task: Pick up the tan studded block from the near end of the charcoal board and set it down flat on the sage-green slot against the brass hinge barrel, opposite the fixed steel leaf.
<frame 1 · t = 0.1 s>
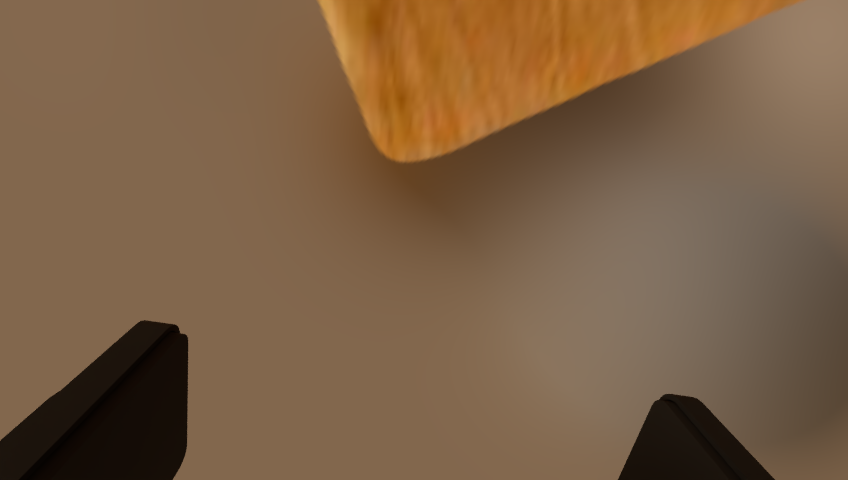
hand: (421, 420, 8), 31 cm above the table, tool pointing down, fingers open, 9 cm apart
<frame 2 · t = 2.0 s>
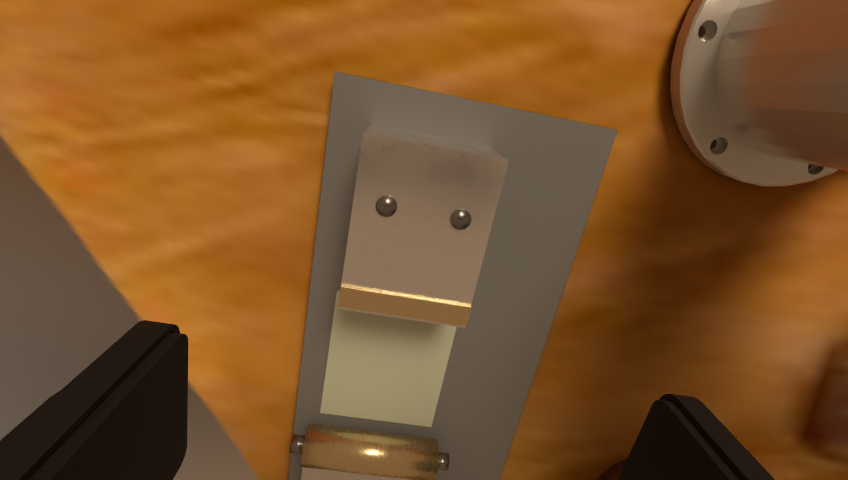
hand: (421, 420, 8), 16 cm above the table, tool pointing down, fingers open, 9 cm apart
tan studded block: (416, 212, 22), point 1 cm above the table, touching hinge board
fixed leaf: (373, 425, 28), resting on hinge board
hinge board: (424, 337, 26), on the table
food container: (630, 475, 31), on the table
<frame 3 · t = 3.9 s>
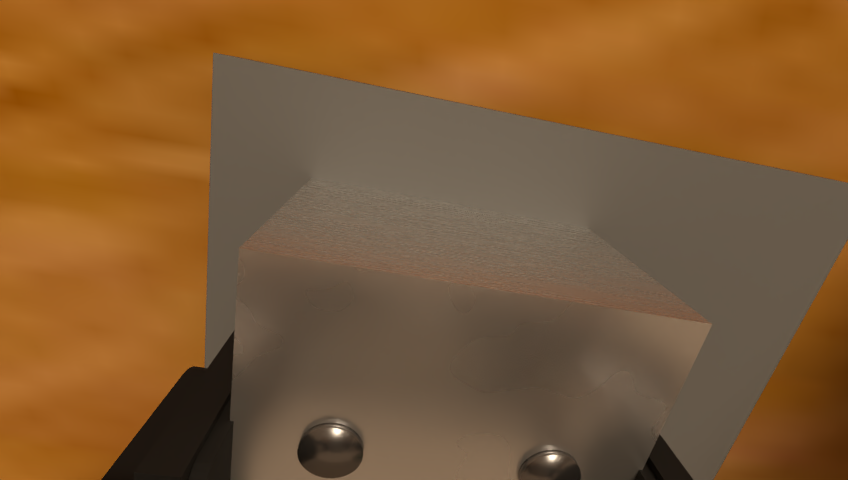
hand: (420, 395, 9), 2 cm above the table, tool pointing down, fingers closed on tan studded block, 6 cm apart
tan studded block: (418, 361, 10), point 1 cm above the table, touching gripper, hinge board
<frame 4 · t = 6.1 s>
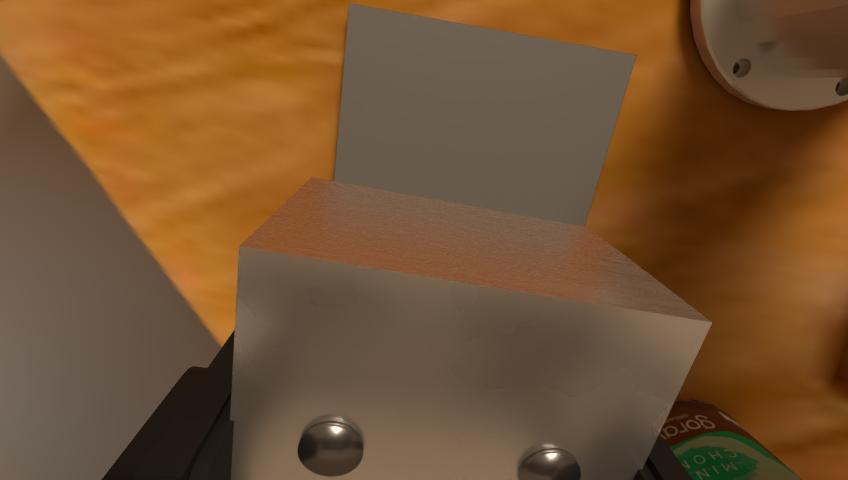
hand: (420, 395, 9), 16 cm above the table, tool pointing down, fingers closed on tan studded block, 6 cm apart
tan studded block: (419, 360, 10), point 15 cm above the table, touching gripper
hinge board: (444, 283, 26), on the table
food container: (655, 424, 30), on the table
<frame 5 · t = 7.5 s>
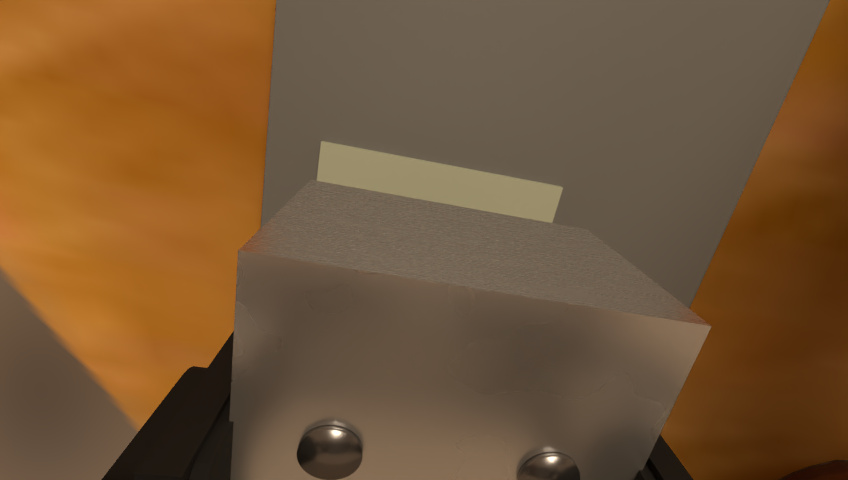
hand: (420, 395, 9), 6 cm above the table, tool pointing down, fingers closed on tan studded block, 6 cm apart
tan studded block: (418, 362, 10), point 4 cm above the table, touching gripper
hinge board: (483, 252, 14), on the table
when the fingers open (3 cm above the table, at t = 8.5 s): tan studded block stays where it is, resting on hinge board.
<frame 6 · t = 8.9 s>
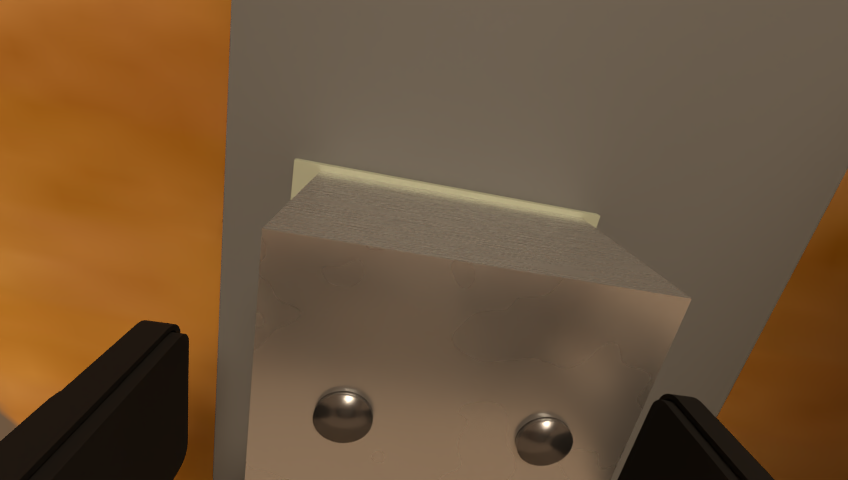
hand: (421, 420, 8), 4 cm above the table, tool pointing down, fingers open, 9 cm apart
tan studded block: (422, 345, 11), point 1 cm above the table, touching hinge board
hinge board: (497, 290, 12), on the table
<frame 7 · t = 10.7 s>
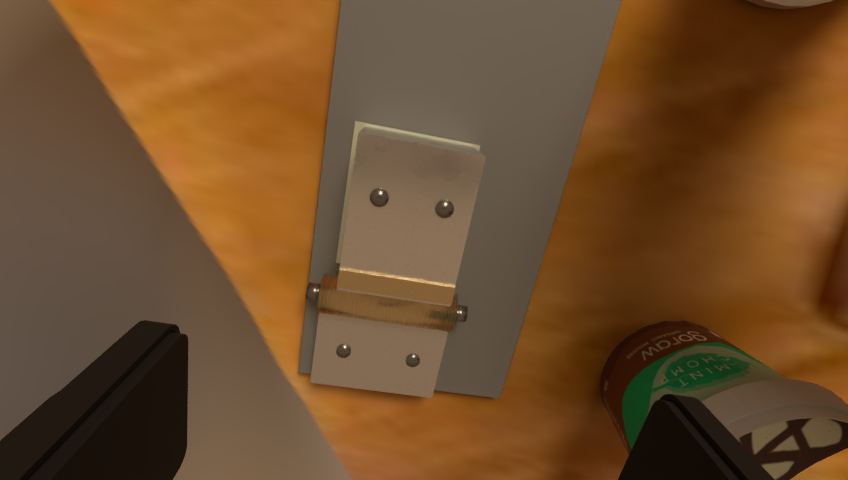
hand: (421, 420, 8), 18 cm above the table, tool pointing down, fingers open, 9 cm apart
tan studded block: (407, 205, 25), point 1 cm above the table, touching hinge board
fixed leaf: (389, 286, 28), resting on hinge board
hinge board: (441, 184, 25), on the table
food container: (646, 347, 30), on the table
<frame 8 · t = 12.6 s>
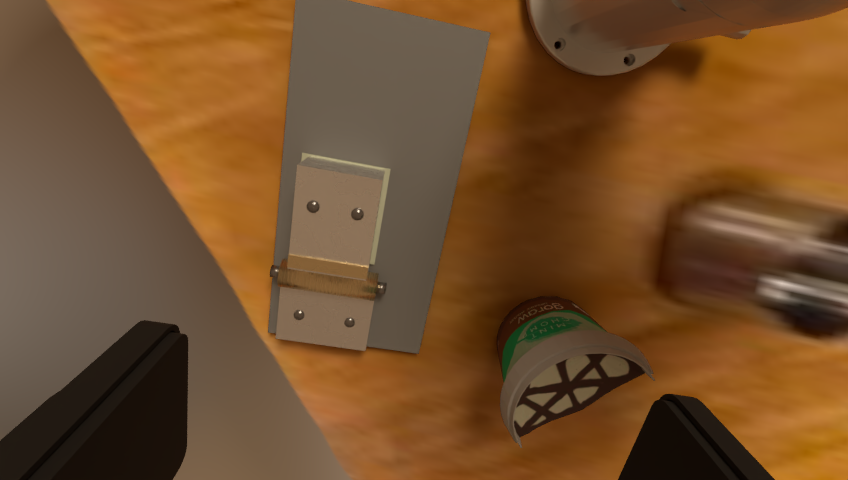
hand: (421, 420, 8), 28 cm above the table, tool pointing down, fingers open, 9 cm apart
tan studded block: (341, 210, 35), point 1 cm above the table, touching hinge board
fixed leaf: (333, 269, 38), resting on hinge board
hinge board: (367, 196, 36), on the table
food container: (530, 316, 41), on the table
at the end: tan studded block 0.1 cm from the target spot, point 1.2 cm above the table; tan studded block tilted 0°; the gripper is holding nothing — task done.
